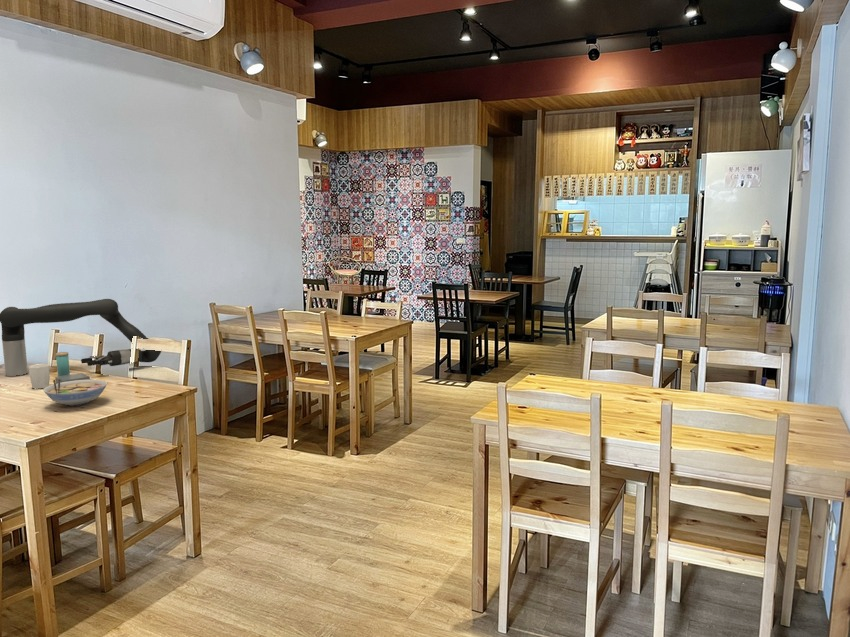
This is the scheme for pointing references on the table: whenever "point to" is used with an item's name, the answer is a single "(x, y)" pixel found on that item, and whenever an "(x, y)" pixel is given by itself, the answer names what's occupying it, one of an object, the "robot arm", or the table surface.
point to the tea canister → (62, 363)
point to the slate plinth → (72, 377)
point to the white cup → (39, 375)
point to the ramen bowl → (75, 391)
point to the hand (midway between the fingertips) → (84, 362)
